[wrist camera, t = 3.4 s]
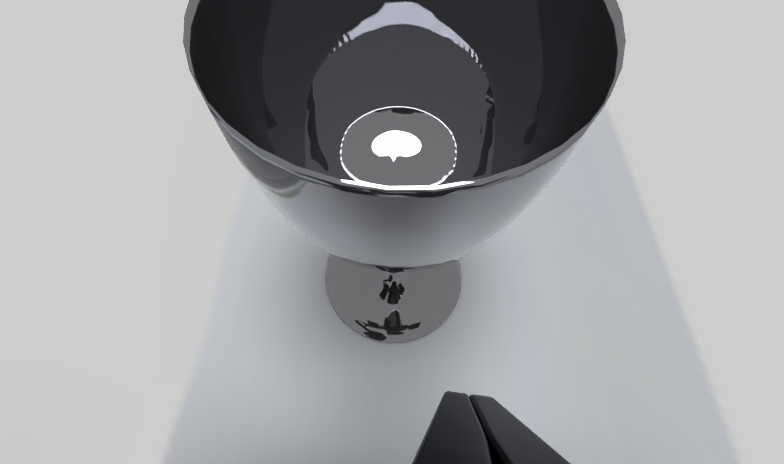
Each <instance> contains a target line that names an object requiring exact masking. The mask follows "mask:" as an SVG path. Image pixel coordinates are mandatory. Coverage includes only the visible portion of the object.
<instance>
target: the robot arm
mask: <svg viewBox="0 0 784 464" xmlns="http://www.w3.org/2000/svg"><path fill="white" fill-rule="evenodd" d="M412 464H570V463H569V462H568V461H567V460H565V459H564V458H563V457H562V456H561V455H560V454H558V453H557V452H556V451H555V450H554V449H552V448H551V447H550V446H549V445H548V444H547V443H545V442H544V441H543V440H542V439H541V438H540V437H538V436H537V435H536V434H535V433H534V432H532V431H531V430H530V429H529V428H528V427H527V426H525V425H524V424H523V423H522V422H521V421H519V420H518V419H517V418H516V417H515V416H514V415H512V414H511V413H510V412H509V411H508V410H507V409H505V408H504V407H503V406H502V405H501V404H499V403H498V402H497V401H496V400H495V399H493V398H492V397H488V396H481V395H470V396H468V395H467V394H465V393H457V392H450V391H447V392H445V394H444V396H443V398H442V400H441V402H440V404H439V406H438V408H437V411H436V413H435V415H434V417H433V419H432V421H431V424H430V426H429V428H428V430H427V432H426V434H425V436H424V439H423V441H422V443H421V445H420V447H419V449H418V451H417V454H416V456H415V458H414V460H413V462H412Z"/></svg>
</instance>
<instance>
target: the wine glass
mask: <svg viewBox="0 0 784 464" xmlns="http://www.w3.org/2000/svg"><path fill="white" fill-rule="evenodd" d="M183 43H184V47H185V52H186V57H187V61H188V65H189V70H190V72H191V74H192V76H193V78H194V80H195V82H196V85H197V87H198V89H199V91H200V92H201V94H202V96H203V98H204V100H205V102H206V104H207V106H208V108H209V110H210V112H211V113H212V115H213V117H214V119H215V121H216V122H217V124H218V126H219V128H220V129H221V131H222V133H223V135H224V137H225V138H226V140H227V142H228V144H229V145H230V147H231V149H232V150H233V152H234V153H235V155H236V156H237V158H238V159H239V161H240V162H241V164H242V165H243V167H244V168H245V170H246V171H247V173H248V174H249V176H250V177H251V179H252V180H253V182H254V183H255V185H256V186H257V187H258V188H259V189H260V191H261V192H262V193H263V194H264V195H265V196H266V198H267V199H268V200H269V201H270V202H271V204H272V205H273V206H274V207H275V208H276V209H277V210H278V211H279V212H280V213H281V214H282V215H283V216H284V217H285V218H286V219H287V221H288V222H289V223H290V224H291V225H292V226H293V227H295V228H296V229H297V230H298V231H300V232H301V233H302V234H303V235H305V236H306V237H307V238H308V239H310V240H311V241H312V242H314V243H315V244H316V245H318V246H319V247H320V248H322V249H323V250H325V251H326V252H328V253H330V254H331V255H330V257H329V261H328V265H327V269H326V286H327V292H328V296H329V299H330V302H331V304H332V306H333V308H334V309H335V311H336V313H337V314H338V316H339V317H340V318H341V319H342V320H343V322H344V323H345V324H347V325H348V326H349V327H350V328H351V329H352V330H354V331H355V332H357V333H359V334H361V335H362V336H364V337H367V338H370V339H372V340H375V341H380V342H386V343H403V342H408V341H413V340H416V339H418V338H421V337H423V336H426V335H427V334H429V333H431V332H432V331H434V330H435V329H437V328H438V327H439V326H440V325H441V324H442V323H443V322H444V321H445V320H446V319H447V318H448V316H449V315H450V314H451V312H452V311H453V309H454V307H455V305H456V303H457V300H458V297H459V293H460V289H461V269H460V264H459V261H458V259H460V258H461V257H463V256H465V255H467V254H468V253H470V252H472V251H473V250H475V249H477V248H478V247H480V246H482V245H483V244H485V243H487V242H488V241H490V240H492V239H493V238H494V237H495V236H496V235H498V234H499V233H500V232H501V231H502V230H503V229H504V228H506V227H507V226H508V225H509V224H510V223H511V222H512V221H513V220H515V219H516V218H517V217H518V216H519V215H520V214H521V213H522V212H524V211H525V210H526V209H527V208H528V207H529V206H530V205H531V204H533V203H534V201H535V200H536V199H537V198H538V196H539V195H540V194H541V193H542V191H543V190H544V189H545V188H546V186H547V185H548V184H549V183H550V181H551V180H552V179H553V178H554V176H555V175H556V174H557V173H558V171H559V170H560V169H561V167H562V166H563V165H564V163H565V162H566V161H567V159H568V158H569V157H570V155H571V154H572V153H573V151H574V150H575V149H576V147H577V146H578V144H579V143H580V142H581V140H582V139H583V137H584V136H585V134H586V133H587V131H588V130H589V128H590V127H591V125H592V124H593V122H594V121H595V120H596V118H597V117H598V115H599V114H600V112H601V111H602V109H603V107H604V106H605V104H606V102H607V100H608V98H609V97H610V95H611V93H612V91H613V88H614V86H615V83H616V81H617V79H618V76H619V74H620V71H621V69H622V64H623V56H624V49H625V33H624V27H623V19H622V13H621V11H620V8H619V6H618V3H617V1H616V0H189V3H188V6H187V9H186V13H185V18H184V38H183Z"/></svg>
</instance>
